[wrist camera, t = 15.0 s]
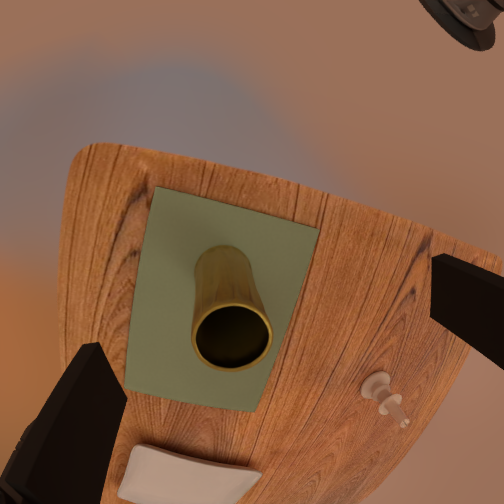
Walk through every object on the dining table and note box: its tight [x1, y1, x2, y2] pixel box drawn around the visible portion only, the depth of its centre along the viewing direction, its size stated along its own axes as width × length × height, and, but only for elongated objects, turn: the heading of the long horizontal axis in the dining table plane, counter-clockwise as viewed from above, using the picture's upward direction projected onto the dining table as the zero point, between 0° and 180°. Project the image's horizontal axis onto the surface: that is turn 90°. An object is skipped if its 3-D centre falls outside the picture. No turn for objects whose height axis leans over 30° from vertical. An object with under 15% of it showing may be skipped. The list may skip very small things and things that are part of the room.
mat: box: [124, 186, 320, 412], centre depth 34 cm, size 26×18×1 cm
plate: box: [117, 444, 262, 504], centre depth 39 cm, size 21×21×3 cm
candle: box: [360, 371, 409, 428], centre depth 35 cm, size 5×5×10 cm
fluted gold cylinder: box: [191, 245, 274, 372], centre depth 25 cm, size 6×6×14 cm
